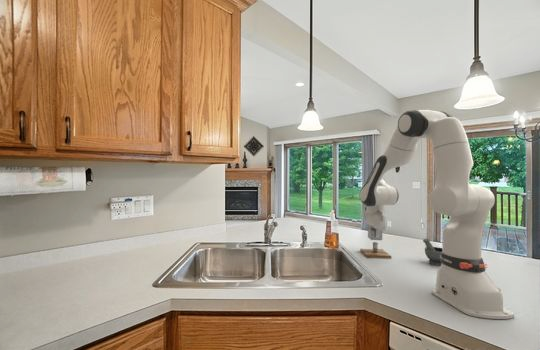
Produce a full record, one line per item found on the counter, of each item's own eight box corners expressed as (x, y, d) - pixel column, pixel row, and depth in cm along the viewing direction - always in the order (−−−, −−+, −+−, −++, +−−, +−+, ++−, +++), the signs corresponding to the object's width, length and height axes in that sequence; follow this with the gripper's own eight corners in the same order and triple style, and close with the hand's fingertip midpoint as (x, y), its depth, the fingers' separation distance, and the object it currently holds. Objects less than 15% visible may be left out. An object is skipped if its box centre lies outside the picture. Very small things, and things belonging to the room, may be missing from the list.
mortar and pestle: (440, 260, 130) (441, 236, 130) (453, 267, 120) (454, 241, 120) (417, 260, 130) (418, 236, 130) (428, 266, 121) (429, 240, 121)
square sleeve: (382, 240, 136) (382, 230, 136) (371, 240, 136) (371, 230, 136) (378, 237, 141) (378, 228, 141) (367, 237, 142) (368, 228, 142)
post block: (391, 258, 132) (391, 246, 132) (367, 257, 133) (367, 245, 133) (382, 251, 144) (382, 240, 144) (360, 250, 145) (360, 239, 145)
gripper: (389, 212, 128) (388, 240, 128) (375, 207, 149) (374, 231, 149) (376, 212, 129) (375, 240, 129) (363, 206, 149) (363, 231, 149)
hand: (375, 235), depth 139 cm, fingers closed on square sleeve, 6 cm apart
